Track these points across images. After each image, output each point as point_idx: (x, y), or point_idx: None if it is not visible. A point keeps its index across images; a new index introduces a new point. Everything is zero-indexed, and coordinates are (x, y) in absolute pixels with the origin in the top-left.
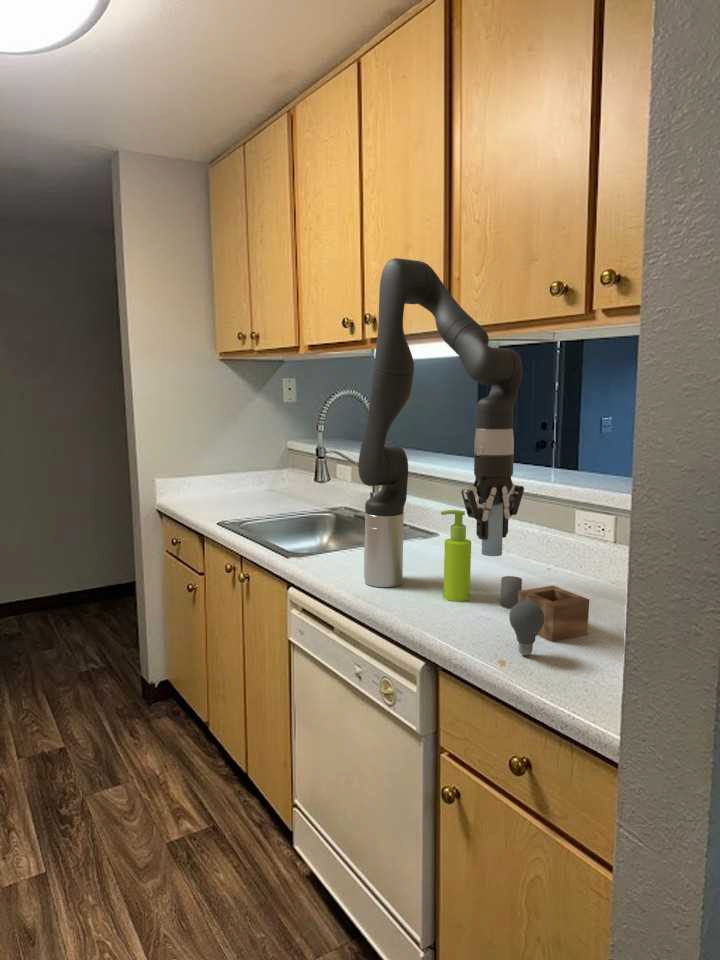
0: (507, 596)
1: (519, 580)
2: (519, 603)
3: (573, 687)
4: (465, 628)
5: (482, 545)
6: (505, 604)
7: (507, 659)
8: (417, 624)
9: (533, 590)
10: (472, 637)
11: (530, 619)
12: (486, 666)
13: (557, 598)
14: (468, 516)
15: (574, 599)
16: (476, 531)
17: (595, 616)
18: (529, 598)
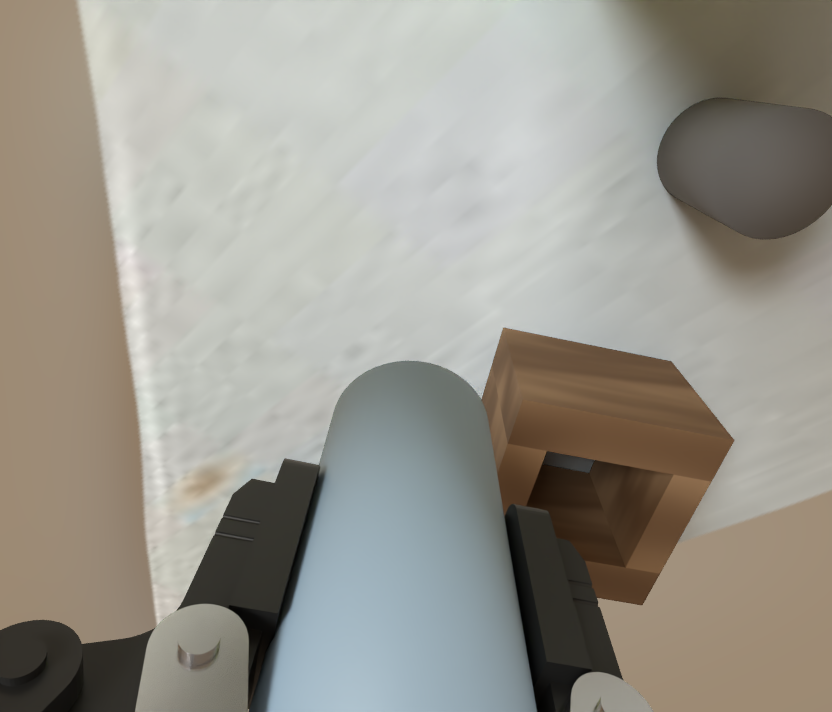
0: (681, 179)
1: (783, 226)
2: None
3: None
4: (303, 228)
5: (327, 440)
6: (663, 162)
7: (237, 476)
8: (143, 50)
9: (588, 431)
10: (262, 307)
11: None
12: (148, 471)
13: (651, 471)
14: (8, 631)
15: (599, 579)
16: (224, 512)
17: (802, 443)
18: (499, 456)
